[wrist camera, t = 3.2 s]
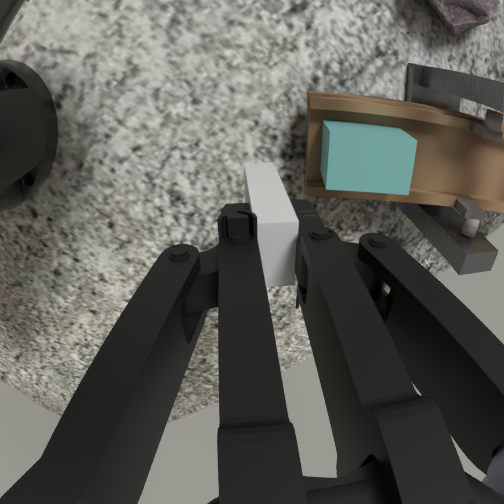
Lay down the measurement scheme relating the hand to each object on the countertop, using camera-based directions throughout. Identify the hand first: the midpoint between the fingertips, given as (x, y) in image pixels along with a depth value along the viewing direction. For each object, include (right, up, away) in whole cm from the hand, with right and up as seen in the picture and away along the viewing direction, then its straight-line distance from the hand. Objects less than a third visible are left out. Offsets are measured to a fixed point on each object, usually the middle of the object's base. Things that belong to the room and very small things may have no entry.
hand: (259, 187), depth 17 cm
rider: (+8, +5, +6) cm, 11 cm away
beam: (+18, +5, +7) cm, 20 cm away
